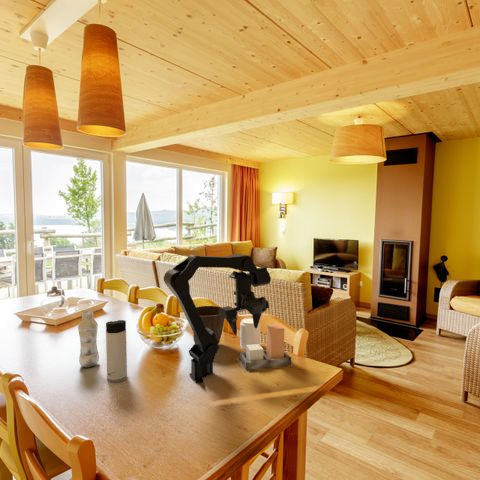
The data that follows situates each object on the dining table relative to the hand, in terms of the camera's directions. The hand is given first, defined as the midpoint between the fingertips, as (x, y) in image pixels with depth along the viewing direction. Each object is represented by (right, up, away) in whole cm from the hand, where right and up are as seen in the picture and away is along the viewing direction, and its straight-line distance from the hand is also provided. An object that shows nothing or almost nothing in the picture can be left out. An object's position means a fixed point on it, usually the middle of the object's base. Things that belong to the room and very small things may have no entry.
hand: (245, 331), depth 120 cm
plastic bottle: (-57, -13, 0) cm, 58 cm away
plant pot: (-16, -12, +16) cm, 25 cm away
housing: (+7, -13, +2) cm, 15 cm away
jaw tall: (+11, -12, +3) cm, 16 cm away
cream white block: (+3, -12, +1) cm, 12 cm away
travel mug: (-43, -14, -9) cm, 46 cm away
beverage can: (+2, -12, +16) cm, 20 cm away
